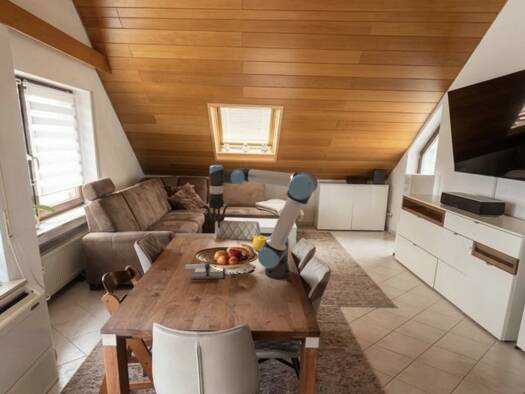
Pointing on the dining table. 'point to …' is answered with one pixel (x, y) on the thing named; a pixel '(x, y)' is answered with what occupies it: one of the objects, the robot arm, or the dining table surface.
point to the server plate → (206, 273)
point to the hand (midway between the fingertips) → (216, 233)
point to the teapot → (258, 242)
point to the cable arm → (197, 266)
